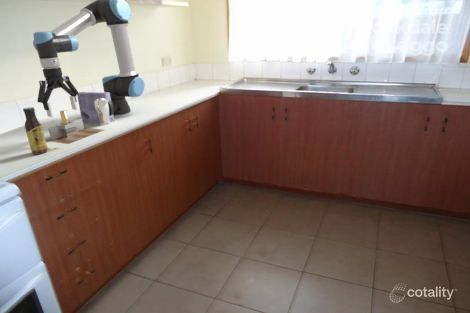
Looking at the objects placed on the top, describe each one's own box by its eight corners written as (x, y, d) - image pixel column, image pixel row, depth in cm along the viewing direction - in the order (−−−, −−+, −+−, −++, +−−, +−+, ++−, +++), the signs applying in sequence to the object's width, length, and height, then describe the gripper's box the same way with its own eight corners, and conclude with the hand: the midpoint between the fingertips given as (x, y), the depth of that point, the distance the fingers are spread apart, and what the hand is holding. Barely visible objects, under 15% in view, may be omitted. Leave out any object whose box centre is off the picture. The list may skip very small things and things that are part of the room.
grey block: (79, 129, 169) (76, 117, 167) (88, 130, 166) (85, 118, 164) (58, 136, 159) (55, 124, 156) (67, 137, 156) (64, 125, 154)
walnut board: (83, 130, 172) (82, 127, 172) (105, 132, 166) (104, 129, 165) (45, 143, 154) (45, 140, 153) (68, 147, 147) (68, 143, 147)
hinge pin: (68, 134, 162) (63, 110, 157) (72, 134, 160) (67, 110, 156) (63, 135, 159) (58, 111, 155) (67, 136, 158) (62, 111, 154)
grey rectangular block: (69, 131, 164) (66, 121, 162) (78, 132, 161) (75, 122, 159) (47, 139, 154) (44, 128, 152) (56, 140, 151) (53, 129, 149)
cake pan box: (117, 122, 184) (111, 91, 177) (112, 124, 179) (105, 92, 173) (87, 121, 188) (80, 91, 182) (82, 124, 184) (74, 93, 177)
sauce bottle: (40, 155, 139) (26, 110, 132) (28, 154, 141) (14, 110, 133) (52, 149, 145) (39, 106, 137) (41, 149, 147) (28, 106, 139)
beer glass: (98, 128, 173) (92, 101, 167) (99, 125, 179) (93, 98, 173) (112, 127, 175) (106, 99, 169) (113, 123, 181) (107, 97, 175)
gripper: (30, 71, 136) (44, 120, 144) (79, 64, 157) (89, 107, 165) (19, 71, 139) (33, 119, 147) (68, 64, 160) (79, 106, 168)
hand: (63, 112), depth 156 cm, fingers open, 13 cm apart
